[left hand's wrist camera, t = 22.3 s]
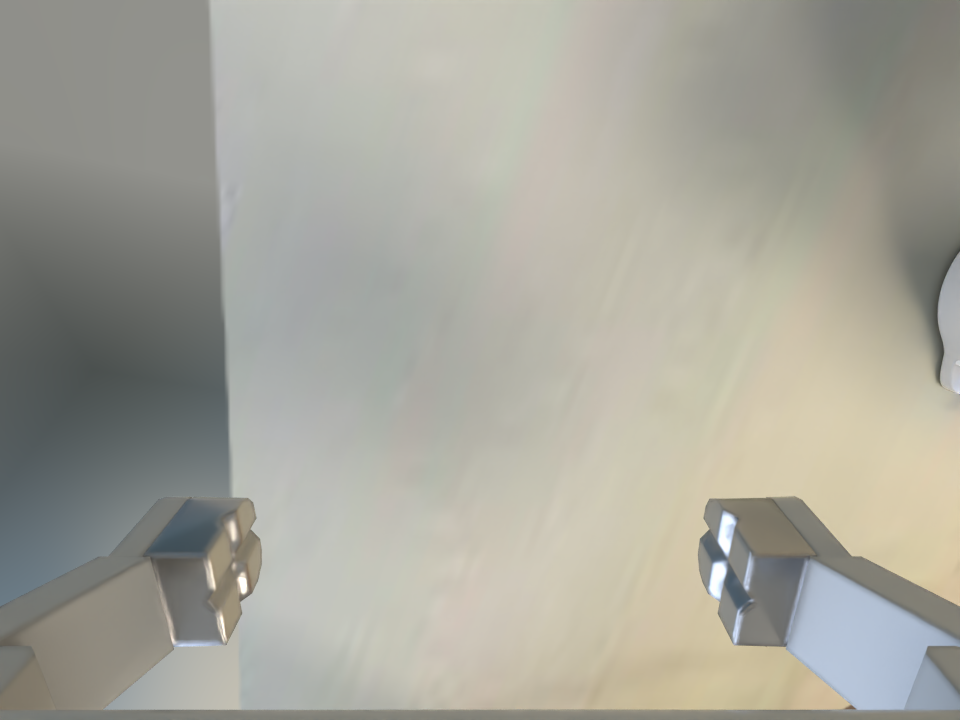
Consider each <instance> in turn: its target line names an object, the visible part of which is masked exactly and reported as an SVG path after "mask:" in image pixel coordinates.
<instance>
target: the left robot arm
mask: <svg viewBox="0 0 960 720" xmlns="http://www.w3.org/2000/svg"><path fill="white" fill-rule="evenodd" d="M938 325H939V330H940V334H941V338H942V341H943V345H944V357H943V361H942V366H941V372H940V382H941V385H942V386H943V387H944V388H945V389H947V390H950V391H952V392H955V393H957V394H960V252H959V253H958V254H957V256H956V258H955V259H954V261H953V262H952V264H951V266H950V268H949V270H948V272H947V274H946V277H945V279H944V282H943V285H942V288H941V291H940V296H939V301H938ZM255 520H256V514H255V509H254V504H253V502H252V501H251V500H250V499H249V498H222V497H193V498H192V497H164V498H161V499H159V500H158V501H157V502H156V503H155V504H154V505H153V506H152V507H151V508H150V510H149V511H148V512H147V513H146V514H145V515H144V516H143V518H142V519H141V520H140V521H139V522H138V523H137V524H136V525H135V527H134V528H133V529H132V530H131V531H130V532H129V533H128V534H127V536H126V537H125V538H124V539H123V540H122V541H121V542H120V544H119V545H118V546H117V547H116V548H115V549H114V550H113V551H112V553H111V554H110V555H109V556H108V557H97V558H95V559H93V560H91V561H89V562H87V563H85V564H83V565H81V566H79V567H77V568H75V569H73V570H71V571H69V572H67V573H65V574H64V575H62V576H60V577H58V578H56V579H54V580H52V581H50V582H48V583H46V584H44V585H42V586H40V587H38V588H36V589H34V590H32V591H30V592H28V593H26V594H24V595H22V596H20V597H18V598H16V599H14V600H12V601H10V602H8V603H6V604H4V605H2V606H0V720H960V607H959V606H957V605H955V604H954V603H952V602H950V601H948V600H946V599H944V598H942V597H940V596H938V595H936V594H934V593H932V592H930V591H928V590H926V589H924V588H922V587H920V586H918V585H916V584H914V583H912V582H910V581H908V580H906V579H904V578H902V577H900V576H898V575H896V574H894V573H892V572H891V571H889V570H887V569H885V568H883V567H881V566H879V565H877V564H875V563H873V562H871V561H869V560H867V559H865V558H863V557H852V556H851V555H850V554H849V553H848V552H847V550H846V549H845V548H844V547H843V546H842V545H841V544H840V542H839V541H838V540H837V539H836V538H835V537H834V536H833V535H832V533H831V532H830V531H829V530H828V529H827V528H826V527H825V525H824V524H823V523H822V522H821V521H820V520H819V519H818V517H817V516H816V515H815V514H814V513H813V512H812V511H811V510H810V508H809V507H808V506H807V505H806V504H805V503H804V502H803V500H801V499H799V498H797V497H795V496H792V497H766V498H729V499H709V501H708V503H707V505H706V508H705V513H704V520H705V522H706V523H707V525H708V527H709V530H708V531H707V532H706V533H705V534H704V535H703V536H702V537H701V538H700V543H699V550H698V561H699V571H700V575H701V578H702V582H703V584H704V586H705V588H706V590H707V592H708V594H710V595H711V596H712V597H714V598H715V599H717V600H718V601H719V602H720V604H719V610H718V615H719V617H720V619H721V621H722V623H723V625H724V627H725V629H726V631H727V633H728V635H729V637H730V639H731V641H732V643H733V645H746V646H781V647H786V650H788V651H789V652H790V653H791V654H792V655H794V656H795V657H796V658H797V659H798V660H799V661H801V662H802V663H803V664H804V665H805V666H806V667H808V668H809V669H810V670H811V671H812V672H814V673H815V674H816V675H817V676H818V677H819V678H821V679H822V680H823V681H824V682H825V683H827V684H828V685H829V686H830V687H831V688H832V689H834V690H835V691H836V692H837V693H838V694H840V695H841V696H842V697H843V698H844V699H845V700H847V701H848V702H849V703H850V704H851V705H852V706H854V707H855V708H856V709H857V710H103V709H104V708H105V707H106V706H108V705H109V704H110V703H111V702H112V701H113V700H115V699H116V698H117V697H118V696H119V695H121V694H122V693H123V692H124V691H125V690H127V689H128V688H129V687H130V686H131V685H132V684H134V683H135V682H136V681H137V680H138V679H140V678H141V677H142V676H143V675H144V674H145V673H147V672H148V671H149V670H150V669H151V668H153V667H154V666H155V665H156V664H157V663H158V662H160V661H161V660H162V659H163V658H164V657H165V656H167V655H168V654H169V653H170V652H171V651H173V650H174V647H179V646H213V645H227V643H228V641H229V639H230V637H231V635H232V633H233V631H234V629H235V627H236V625H237V623H238V621H239V619H240V617H241V615H242V610H241V604H240V602H241V601H242V600H243V599H245V598H246V597H248V596H249V595H250V594H252V592H253V590H254V588H255V586H256V584H257V582H258V578H259V574H260V569H261V565H262V549H261V542H260V538H259V537H258V536H257V535H256V534H255V533H254V532H253V531H252V530H251V527H252V525H253V523H254V522H255Z"/></svg>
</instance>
